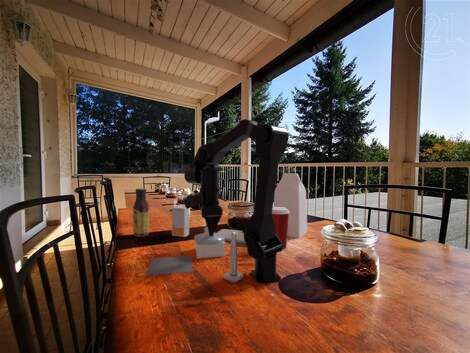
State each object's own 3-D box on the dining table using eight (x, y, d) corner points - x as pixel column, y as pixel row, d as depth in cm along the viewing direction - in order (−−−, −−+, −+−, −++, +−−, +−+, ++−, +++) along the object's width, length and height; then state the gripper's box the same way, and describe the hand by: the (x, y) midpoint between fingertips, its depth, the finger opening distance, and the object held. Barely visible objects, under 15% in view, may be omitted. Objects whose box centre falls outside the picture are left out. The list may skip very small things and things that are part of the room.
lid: (227, 243, 77) (227, 230, 77) (194, 245, 75) (194, 232, 75) (222, 234, 87) (222, 223, 87) (193, 236, 85) (193, 224, 85)
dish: (225, 258, 78) (225, 243, 78) (196, 260, 76) (196, 244, 76) (221, 249, 87) (221, 235, 87) (195, 250, 85) (195, 236, 85)
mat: (192, 274, 67) (192, 271, 67) (145, 278, 64) (145, 275, 64) (191, 258, 78) (191, 255, 78) (152, 261, 76) (152, 258, 76)
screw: (243, 288, 59) (223, 288, 59) (243, 278, 64) (224, 278, 64) (243, 234, 59) (223, 234, 59) (243, 229, 64) (224, 229, 64)
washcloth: (250, 248, 89) (250, 240, 89) (206, 242, 96) (206, 234, 96) (260, 239, 100) (260, 231, 100) (220, 234, 107) (220, 227, 107)
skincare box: (171, 236, 103) (171, 207, 102) (176, 233, 107) (176, 206, 107) (184, 237, 101) (184, 208, 101) (189, 234, 105) (189, 206, 105)
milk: (307, 231, 110) (308, 173, 109) (299, 238, 100) (300, 174, 99) (282, 228, 116) (282, 172, 115) (272, 233, 107) (272, 173, 105)
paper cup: (288, 243, 93) (288, 206, 92) (290, 250, 85) (290, 210, 84) (267, 243, 93) (267, 206, 93) (267, 250, 86) (267, 210, 85)
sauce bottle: (133, 234, 106) (132, 188, 105) (148, 232, 108) (147, 187, 107) (133, 238, 100) (132, 189, 99) (150, 236, 102) (149, 188, 101)
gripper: (184, 183, 88) (185, 226, 89) (183, 187, 70) (184, 242, 70) (215, 182, 90) (215, 225, 91) (222, 187, 72) (223, 240, 73)
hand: (209, 232), depth 81 cm, fingers open, 9 cm apart
